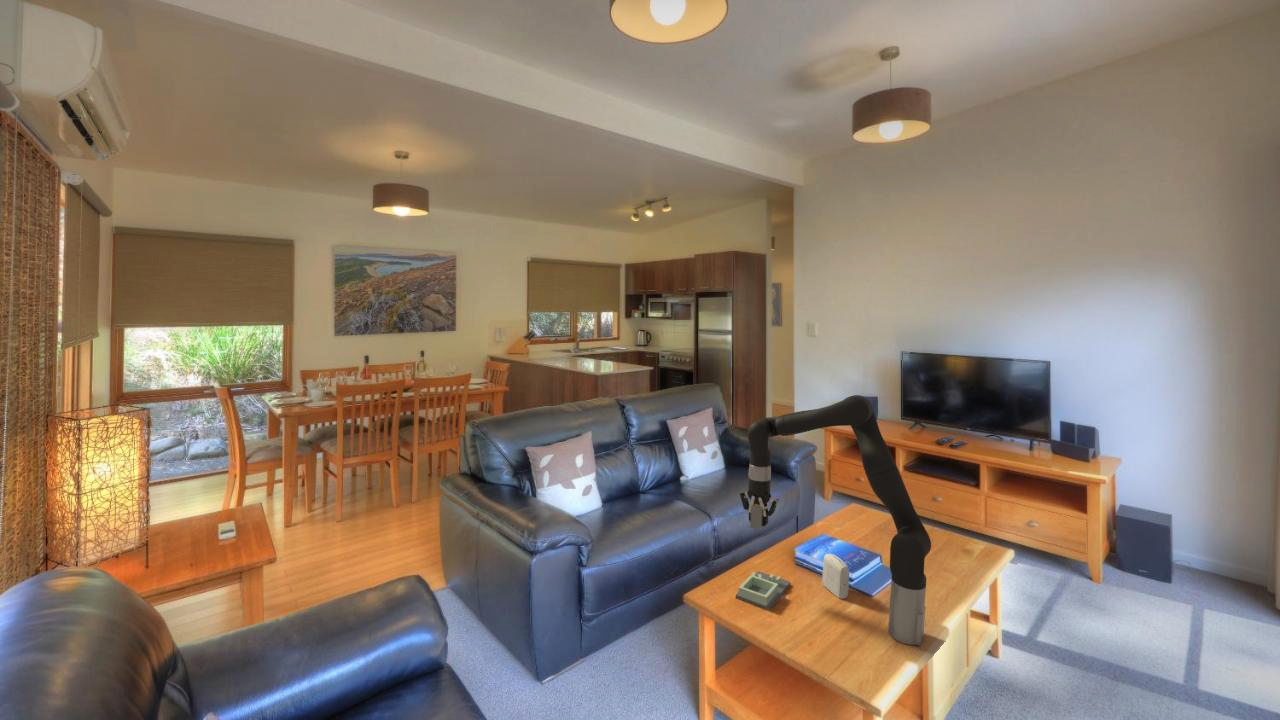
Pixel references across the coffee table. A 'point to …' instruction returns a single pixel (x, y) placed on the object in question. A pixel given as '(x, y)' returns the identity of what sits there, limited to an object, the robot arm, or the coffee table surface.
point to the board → (781, 589)
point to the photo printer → (835, 576)
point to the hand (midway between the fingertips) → (758, 523)
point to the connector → (756, 517)
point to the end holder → (757, 596)
